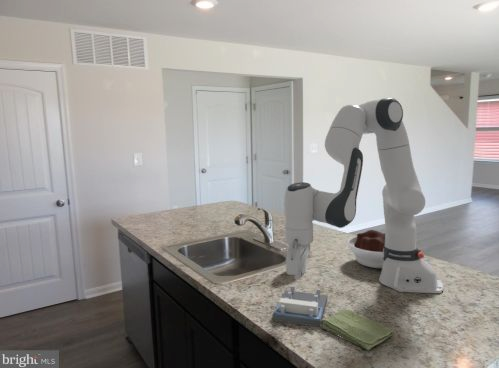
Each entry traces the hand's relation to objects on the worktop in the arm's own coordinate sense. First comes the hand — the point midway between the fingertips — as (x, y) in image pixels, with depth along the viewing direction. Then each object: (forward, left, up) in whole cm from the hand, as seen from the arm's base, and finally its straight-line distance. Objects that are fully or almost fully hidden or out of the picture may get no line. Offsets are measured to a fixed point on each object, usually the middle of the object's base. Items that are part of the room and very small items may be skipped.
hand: (298, 278), depth 117 cm
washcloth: (-18, +4, -14) cm, 23 cm away
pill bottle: (+8, -38, -13) cm, 41 cm away
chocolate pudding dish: (-24, -56, -13) cm, 62 cm away
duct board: (0, -5, -13) cm, 14 cm away
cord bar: (0, 0, -11) cm, 11 cm away
